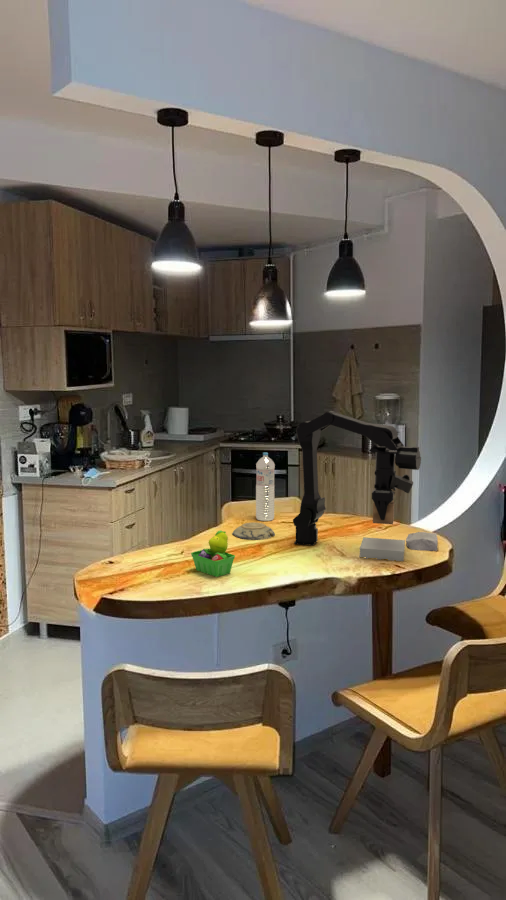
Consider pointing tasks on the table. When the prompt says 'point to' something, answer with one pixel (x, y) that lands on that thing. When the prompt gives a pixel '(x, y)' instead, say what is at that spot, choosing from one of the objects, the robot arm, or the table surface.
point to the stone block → (422, 541)
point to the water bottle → (265, 489)
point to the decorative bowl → (253, 531)
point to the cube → (388, 518)
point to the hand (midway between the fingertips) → (383, 517)
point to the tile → (382, 548)
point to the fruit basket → (214, 556)
